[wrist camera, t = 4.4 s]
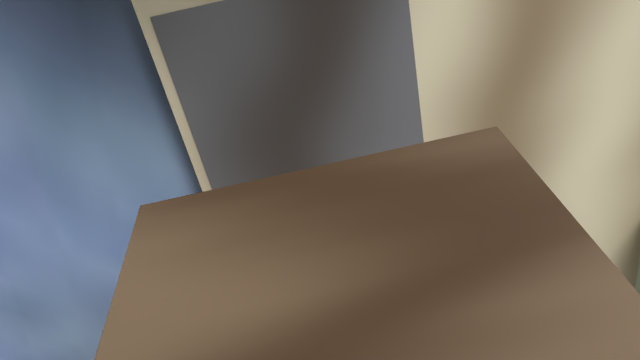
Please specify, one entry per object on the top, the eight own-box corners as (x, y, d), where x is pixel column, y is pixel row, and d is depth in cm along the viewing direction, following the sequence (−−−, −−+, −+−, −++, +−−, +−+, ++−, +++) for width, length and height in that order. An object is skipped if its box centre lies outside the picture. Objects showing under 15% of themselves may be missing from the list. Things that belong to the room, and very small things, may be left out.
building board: (899, -294, 13) (948, -304, 12) (737, 276, 22) (756, 294, 22) (102, -109, 13) (91, -105, 12) (278, 377, 23) (280, 399, 22)
